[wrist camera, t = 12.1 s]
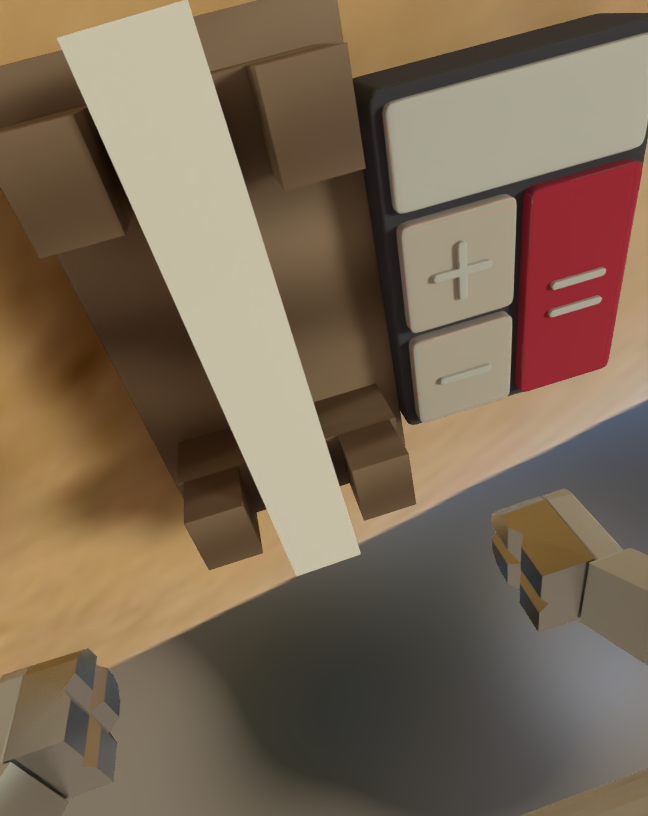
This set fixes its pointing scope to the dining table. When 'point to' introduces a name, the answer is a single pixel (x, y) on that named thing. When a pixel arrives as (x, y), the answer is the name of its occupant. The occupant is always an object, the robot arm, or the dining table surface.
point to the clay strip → (213, 261)
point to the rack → (283, 239)
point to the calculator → (505, 207)
